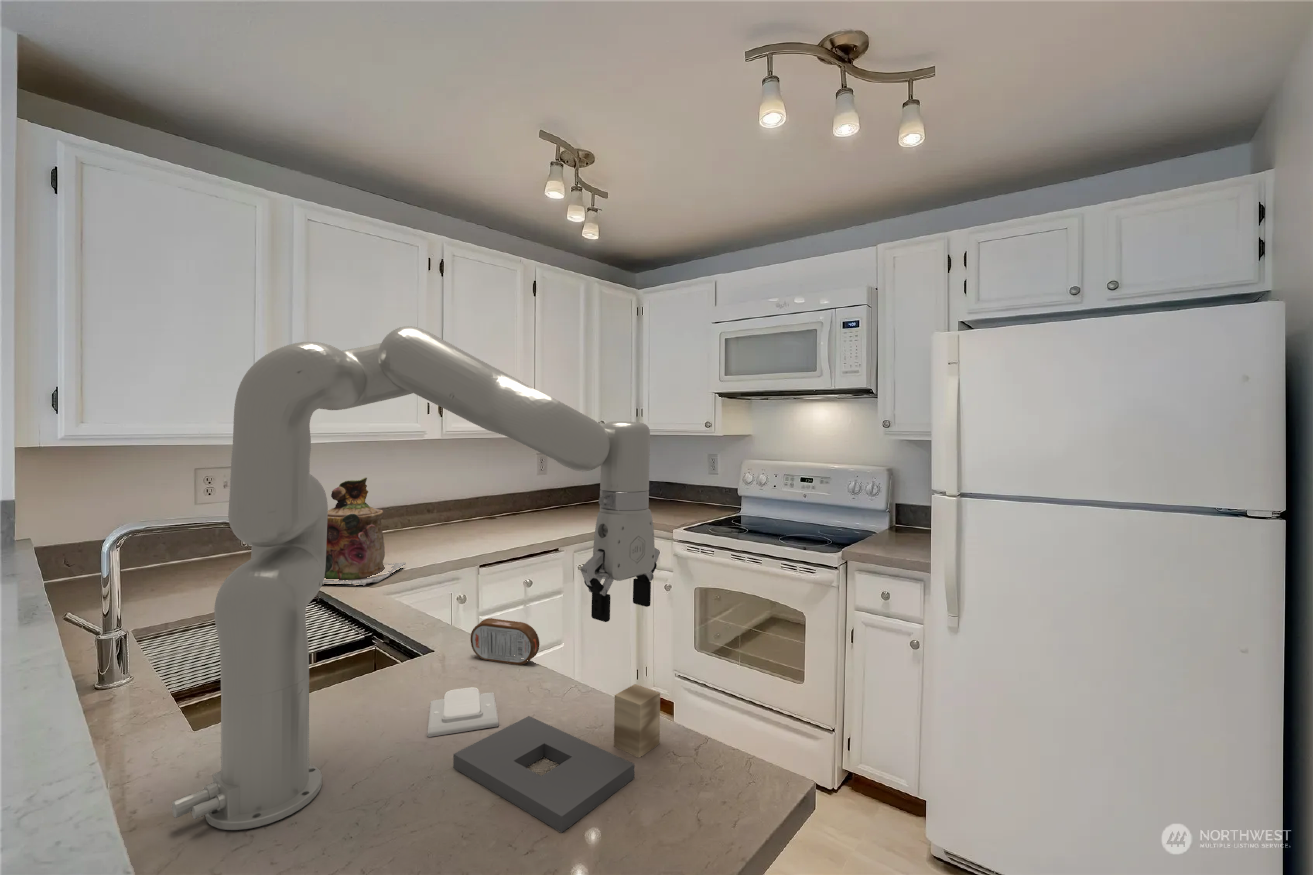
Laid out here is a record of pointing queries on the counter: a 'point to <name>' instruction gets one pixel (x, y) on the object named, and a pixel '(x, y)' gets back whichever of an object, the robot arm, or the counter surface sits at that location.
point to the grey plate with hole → (557, 792)
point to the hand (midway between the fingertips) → (621, 612)
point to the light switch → (462, 712)
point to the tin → (504, 641)
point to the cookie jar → (354, 537)
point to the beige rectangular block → (637, 720)
